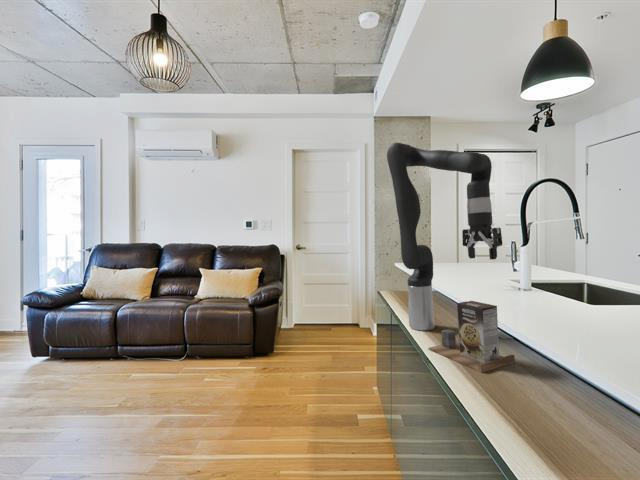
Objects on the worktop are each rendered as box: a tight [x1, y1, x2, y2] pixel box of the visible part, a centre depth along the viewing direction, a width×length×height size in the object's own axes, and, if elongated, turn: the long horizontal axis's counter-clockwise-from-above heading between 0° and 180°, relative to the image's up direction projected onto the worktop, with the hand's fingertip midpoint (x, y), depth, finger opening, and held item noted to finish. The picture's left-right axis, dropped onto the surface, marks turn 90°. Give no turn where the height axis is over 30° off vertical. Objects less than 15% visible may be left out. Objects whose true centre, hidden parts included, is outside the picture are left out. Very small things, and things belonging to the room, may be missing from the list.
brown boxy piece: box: [456, 300, 500, 363], centre depth 96 cm, size 9×6×16 cm
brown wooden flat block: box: [427, 329, 516, 373], centre depth 100 cm, size 21×13×6 cm, turn 22°
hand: (482, 258), depth 112 cm, fingers open, 8 cm apart
